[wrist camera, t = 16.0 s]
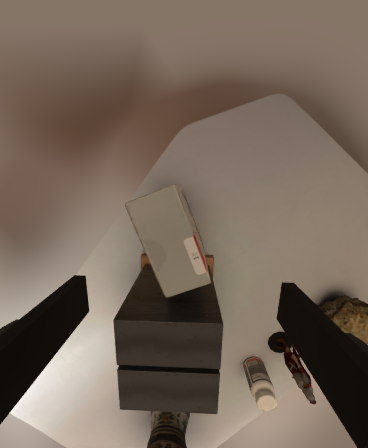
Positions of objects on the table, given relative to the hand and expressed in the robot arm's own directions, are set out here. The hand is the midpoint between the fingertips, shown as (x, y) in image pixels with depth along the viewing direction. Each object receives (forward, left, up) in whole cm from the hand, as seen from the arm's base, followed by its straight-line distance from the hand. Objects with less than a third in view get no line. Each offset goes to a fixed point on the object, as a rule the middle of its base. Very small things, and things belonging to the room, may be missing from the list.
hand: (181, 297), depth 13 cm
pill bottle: (+43, +20, -34) cm, 58 cm away
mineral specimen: (+26, +38, -34) cm, 58 cm away
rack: (+21, -2, -34) cm, 40 cm away
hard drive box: (+1, -2, -34) cm, 34 cm away
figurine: (+35, +27, -34) cm, 56 cm away
